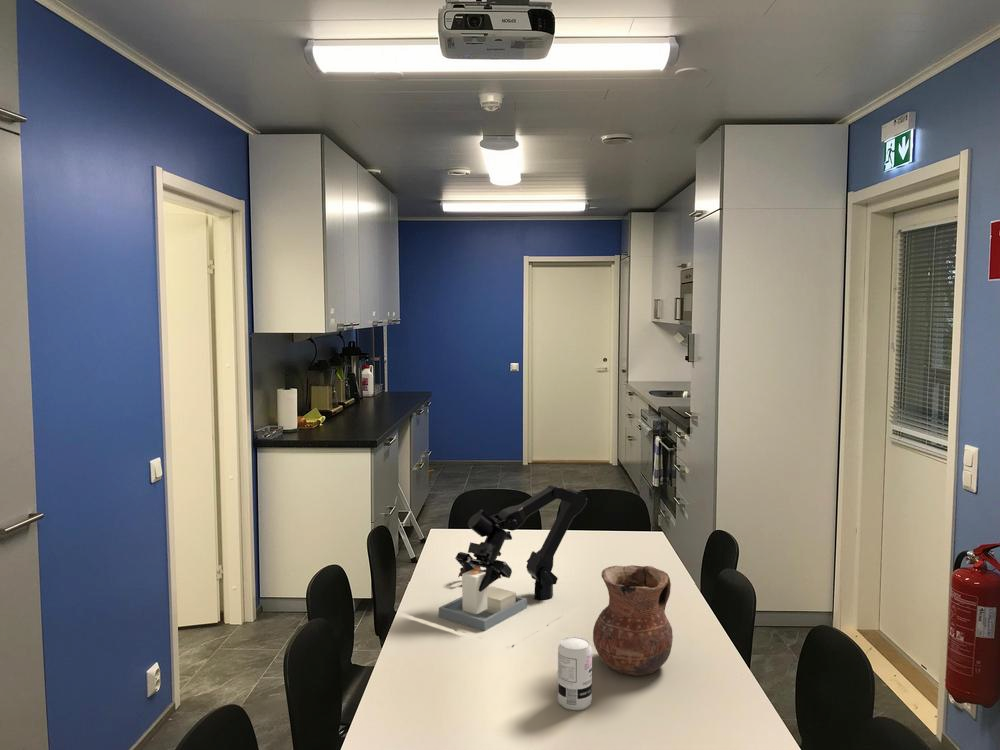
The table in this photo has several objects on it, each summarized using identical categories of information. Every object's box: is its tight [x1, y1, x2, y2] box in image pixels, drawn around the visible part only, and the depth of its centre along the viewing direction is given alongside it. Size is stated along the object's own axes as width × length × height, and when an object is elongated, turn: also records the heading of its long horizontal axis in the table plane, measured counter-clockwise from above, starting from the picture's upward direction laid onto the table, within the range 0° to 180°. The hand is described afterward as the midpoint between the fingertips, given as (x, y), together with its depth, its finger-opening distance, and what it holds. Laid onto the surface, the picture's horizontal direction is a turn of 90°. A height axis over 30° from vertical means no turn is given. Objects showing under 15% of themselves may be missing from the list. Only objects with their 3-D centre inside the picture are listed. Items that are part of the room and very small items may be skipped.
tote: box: [438, 595, 528, 632], centre depth 235 cm, size 22×18×4 cm
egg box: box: [484, 585, 517, 614], centre depth 239 cm, size 8×12×5 cm
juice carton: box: [461, 569, 488, 614], centre depth 231 cm, size 6×6×12 cm
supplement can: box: [557, 636, 593, 711], centre depth 180 cm, size 8×8×15 cm
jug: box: [592, 565, 674, 677], centre depth 201 cm, size 22×21×25 cm
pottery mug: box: [458, 566, 486, 578], centre depth 262 cm, size 12×9×8 cm
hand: (472, 589), depth 230 cm, fingers closed on juice carton, 5 cm apart
